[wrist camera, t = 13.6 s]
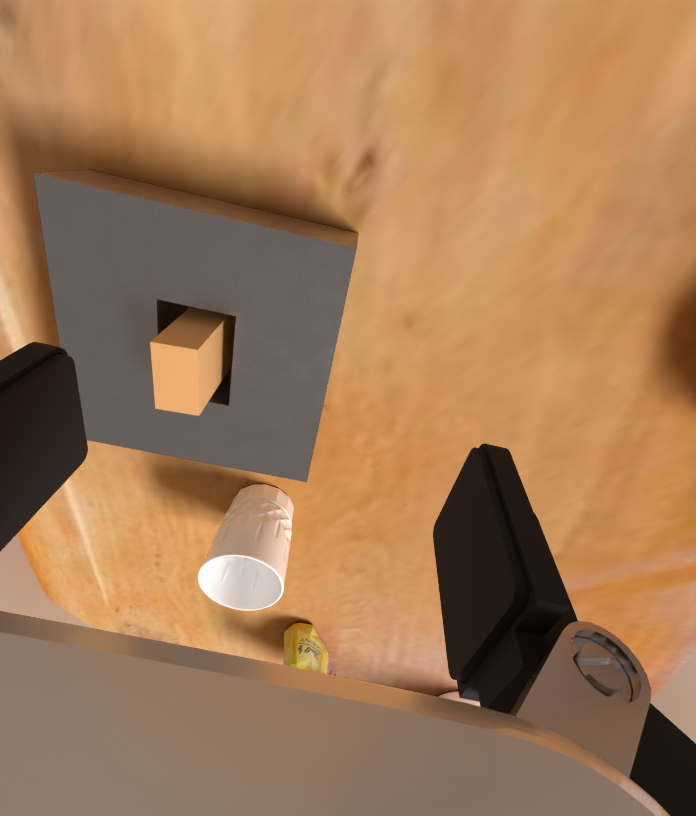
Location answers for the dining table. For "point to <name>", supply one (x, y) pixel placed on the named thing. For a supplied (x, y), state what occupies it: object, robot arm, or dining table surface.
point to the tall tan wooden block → (191, 359)
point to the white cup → (250, 550)
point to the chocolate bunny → (305, 649)
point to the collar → (201, 288)
